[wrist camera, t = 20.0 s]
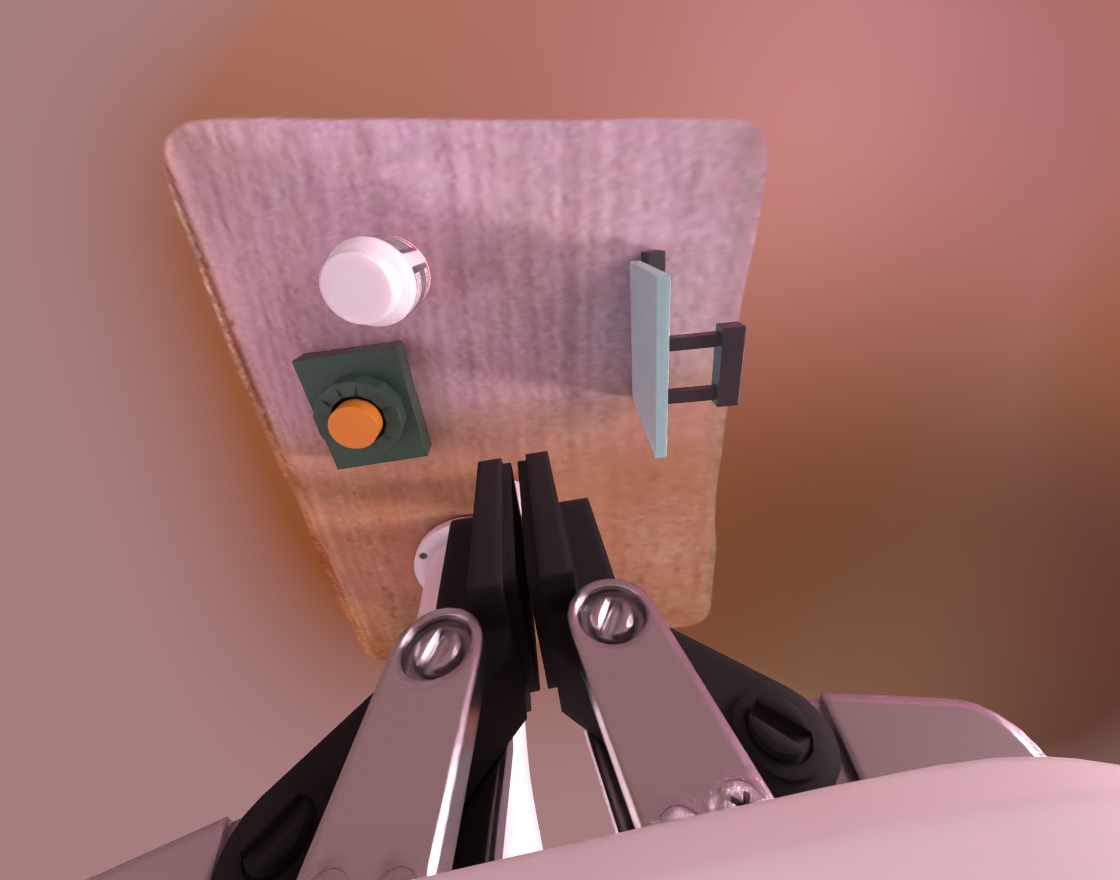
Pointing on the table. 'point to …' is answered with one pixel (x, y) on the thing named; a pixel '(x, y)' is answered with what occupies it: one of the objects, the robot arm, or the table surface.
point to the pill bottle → (374, 279)
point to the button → (355, 423)
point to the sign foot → (654, 259)
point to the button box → (366, 399)
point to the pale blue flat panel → (656, 343)
